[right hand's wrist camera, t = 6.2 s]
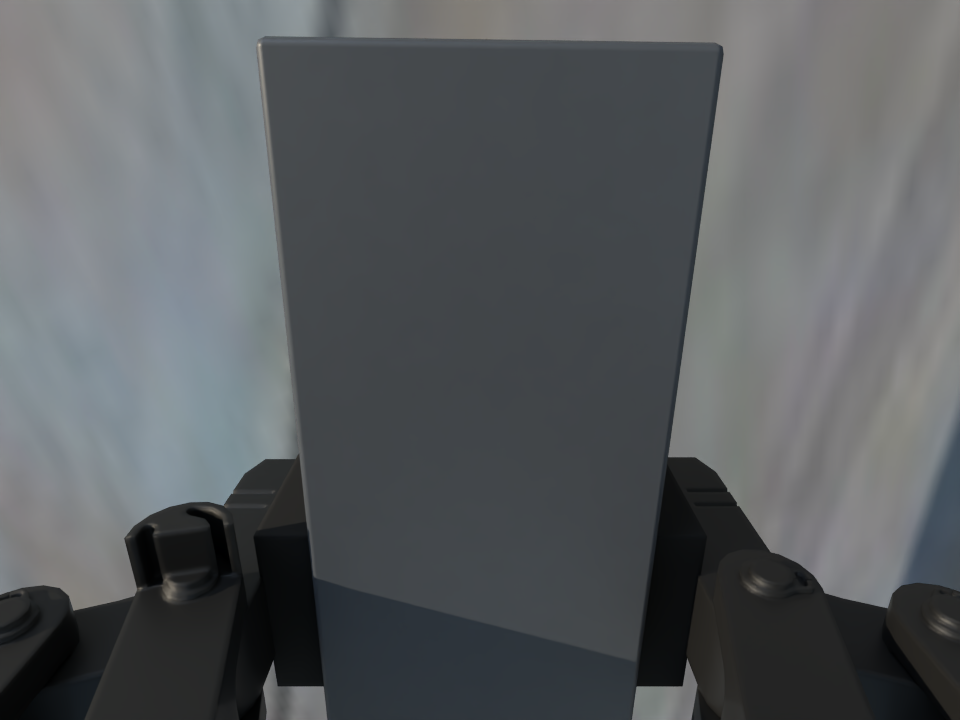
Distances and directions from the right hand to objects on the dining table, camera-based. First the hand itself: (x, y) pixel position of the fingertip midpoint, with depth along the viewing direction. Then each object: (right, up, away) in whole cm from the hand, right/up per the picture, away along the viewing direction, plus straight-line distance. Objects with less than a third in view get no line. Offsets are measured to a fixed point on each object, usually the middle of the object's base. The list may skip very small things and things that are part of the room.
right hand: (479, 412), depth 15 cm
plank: (0, -18, +7) cm, 20 cm away
